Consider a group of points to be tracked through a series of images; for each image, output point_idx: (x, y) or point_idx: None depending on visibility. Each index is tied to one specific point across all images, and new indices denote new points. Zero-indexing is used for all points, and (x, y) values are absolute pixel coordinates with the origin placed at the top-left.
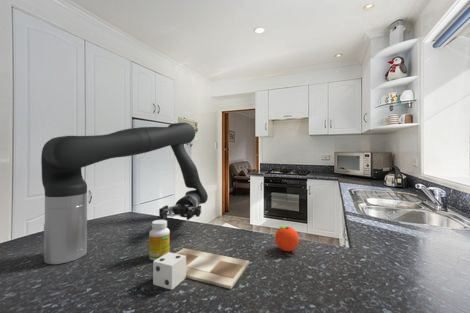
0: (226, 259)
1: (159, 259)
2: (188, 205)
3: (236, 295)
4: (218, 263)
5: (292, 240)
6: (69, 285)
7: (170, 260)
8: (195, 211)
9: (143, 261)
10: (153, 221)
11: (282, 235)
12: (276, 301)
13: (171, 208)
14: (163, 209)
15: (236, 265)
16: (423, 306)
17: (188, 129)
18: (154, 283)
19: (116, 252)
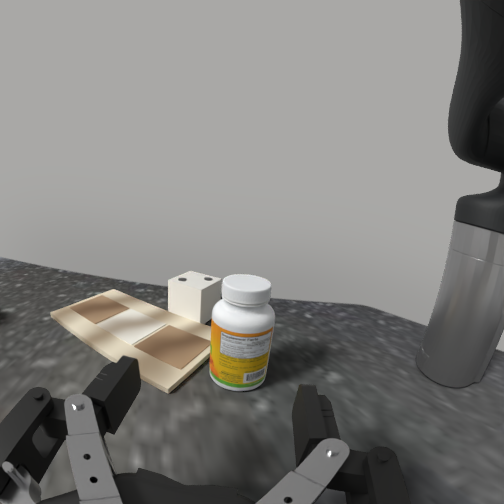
0: (82, 325)
1: (213, 280)
2: (80, 497)
3: (113, 287)
4: (103, 318)
5: None
6: (342, 321)
7: (194, 276)
8: (61, 399)
9: (269, 361)
10: (268, 284)
11: None
12: (82, 277)
13: (287, 478)
14: (367, 477)
15: (79, 309)
16: (2, 258)
17: None
18: None
19: (373, 393)
